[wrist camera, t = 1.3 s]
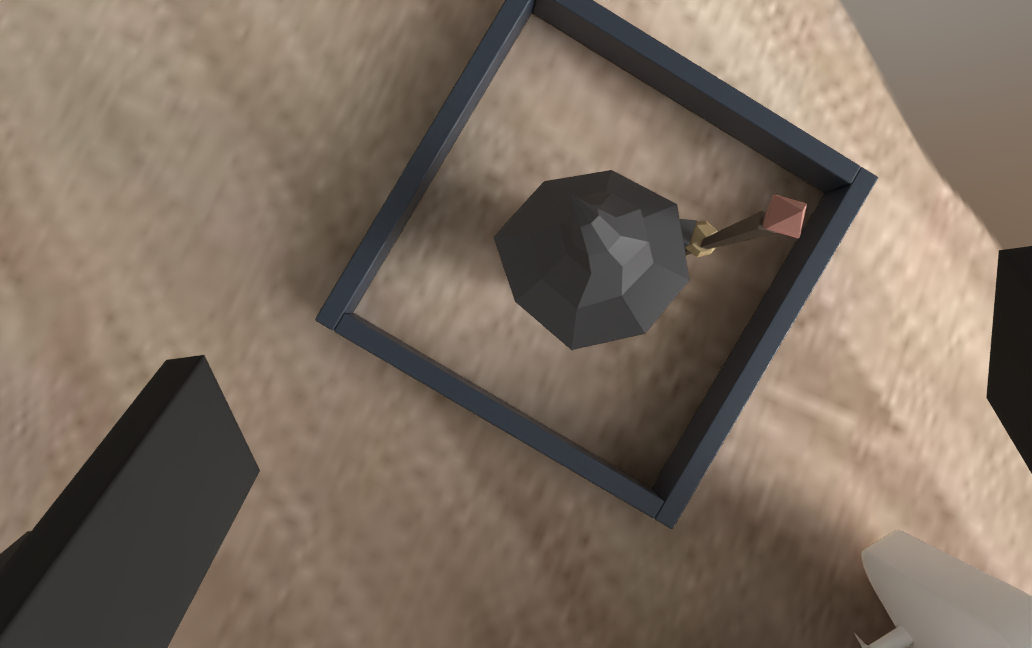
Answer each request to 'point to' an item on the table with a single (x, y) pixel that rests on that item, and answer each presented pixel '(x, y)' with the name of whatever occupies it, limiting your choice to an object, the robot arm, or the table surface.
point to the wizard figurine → (612, 253)
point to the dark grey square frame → (707, 96)
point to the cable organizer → (943, 599)
